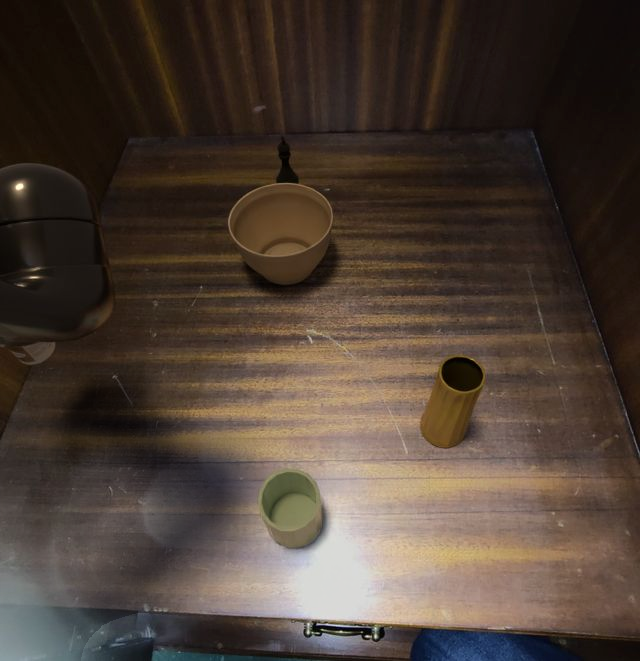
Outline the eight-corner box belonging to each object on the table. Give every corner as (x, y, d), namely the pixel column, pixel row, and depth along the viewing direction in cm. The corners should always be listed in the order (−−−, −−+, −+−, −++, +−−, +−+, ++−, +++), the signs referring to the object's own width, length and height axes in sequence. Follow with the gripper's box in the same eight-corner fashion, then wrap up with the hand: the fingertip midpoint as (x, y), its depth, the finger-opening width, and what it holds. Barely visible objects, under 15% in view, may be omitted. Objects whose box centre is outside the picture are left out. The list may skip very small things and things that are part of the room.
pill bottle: (10, 355, 61) (-28, 315, 55) (40, 329, 63) (7, 289, 57) (33, 372, 60) (-3, 333, 54) (64, 345, 62) (31, 305, 56)
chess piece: (293, 171, 103) (289, 126, 94) (302, 184, 100) (298, 139, 92) (273, 178, 102) (266, 133, 94) (281, 191, 99) (275, 146, 91)
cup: (321, 549, 61) (318, 532, 55) (263, 546, 62) (254, 529, 55) (324, 492, 65) (321, 469, 59) (270, 489, 66) (262, 467, 59)
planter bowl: (221, 263, 89) (207, 215, 80) (293, 219, 95) (288, 169, 86) (279, 318, 82) (270, 272, 73) (353, 266, 87) (354, 218, 78)
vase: (475, 433, 69) (501, 379, 58) (439, 456, 67) (459, 407, 56) (445, 399, 72) (464, 342, 61) (410, 421, 71) (423, 366, 59)
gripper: (52, 217, 47) (32, 259, 61) (-92, 325, 40) (-77, 345, 54) (114, 278, 50) (81, 305, 64) (-12, 389, 43) (-17, 392, 57)
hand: (9, 323), depth 59 cm, fingers closed on pill bottle, 4 cm apart
